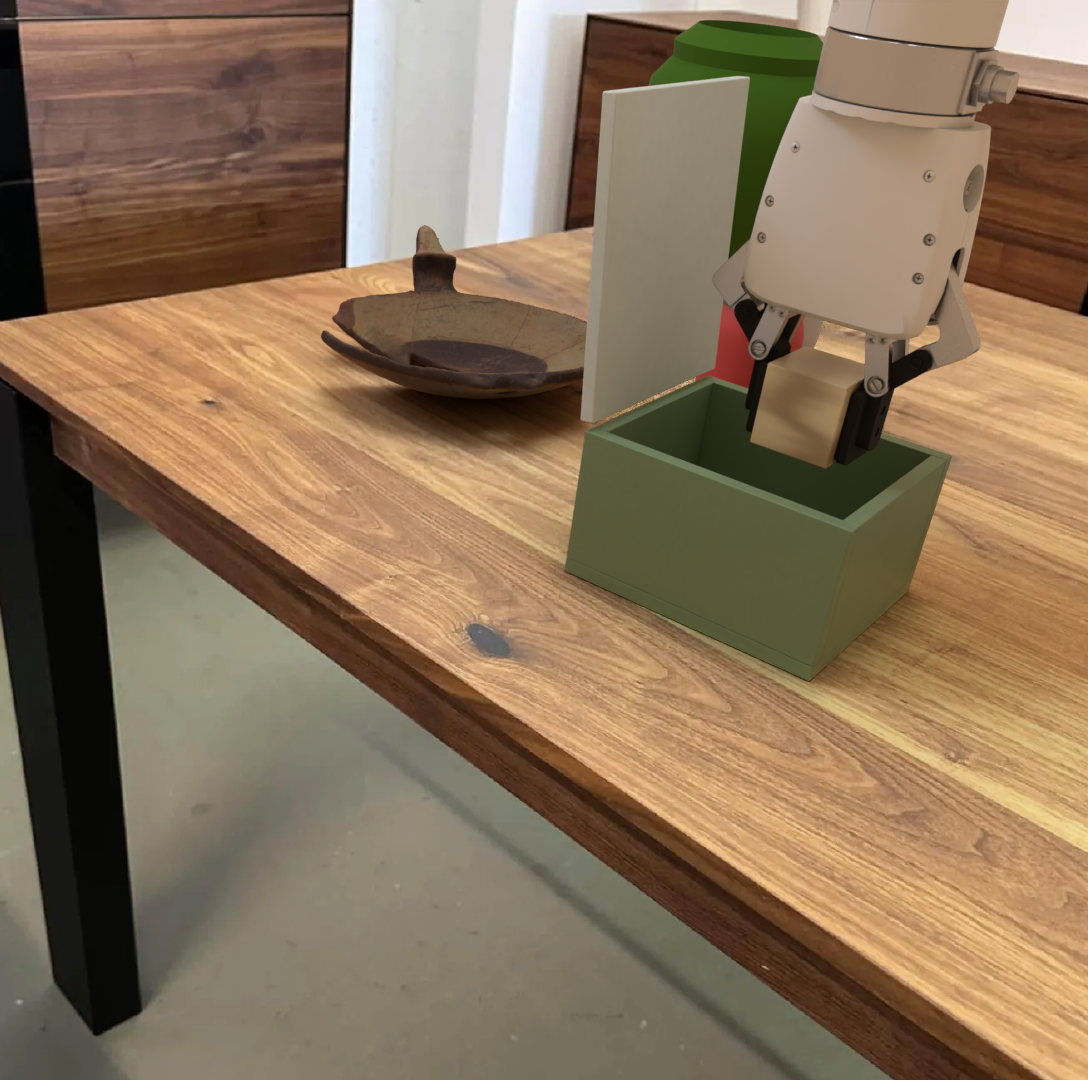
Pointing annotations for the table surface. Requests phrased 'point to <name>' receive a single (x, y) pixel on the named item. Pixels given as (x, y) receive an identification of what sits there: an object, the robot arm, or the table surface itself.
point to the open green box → (748, 527)
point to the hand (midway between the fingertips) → (806, 438)
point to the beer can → (738, 350)
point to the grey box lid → (660, 237)
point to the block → (806, 404)
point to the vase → (749, 92)
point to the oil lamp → (459, 336)
